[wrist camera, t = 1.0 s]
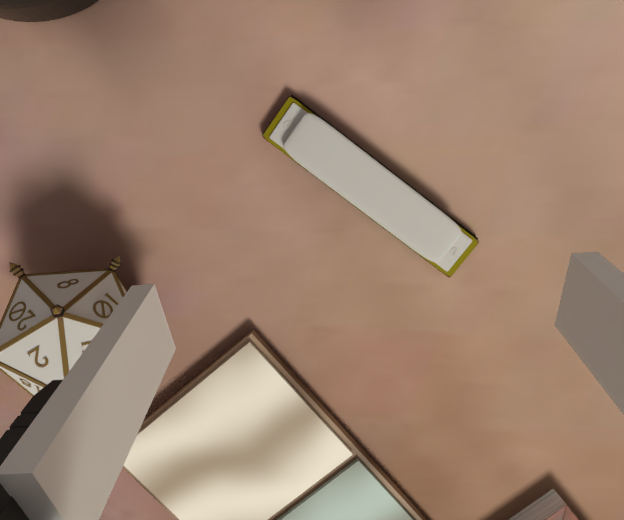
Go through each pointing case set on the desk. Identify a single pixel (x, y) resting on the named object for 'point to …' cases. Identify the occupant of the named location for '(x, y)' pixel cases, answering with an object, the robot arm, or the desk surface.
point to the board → (257, 450)
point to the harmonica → (369, 186)
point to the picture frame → (546, 509)
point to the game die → (54, 321)
